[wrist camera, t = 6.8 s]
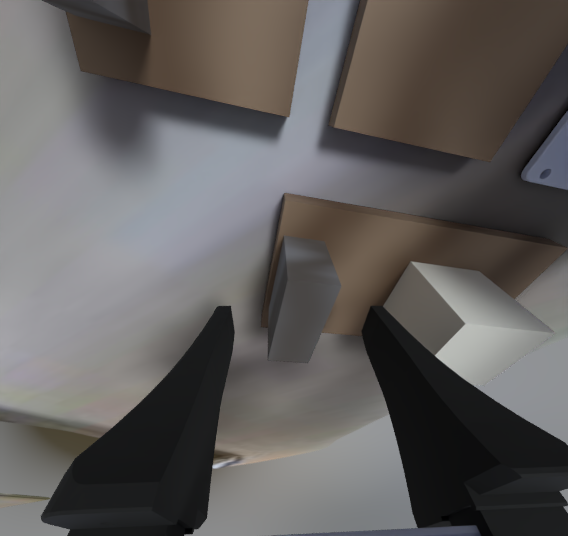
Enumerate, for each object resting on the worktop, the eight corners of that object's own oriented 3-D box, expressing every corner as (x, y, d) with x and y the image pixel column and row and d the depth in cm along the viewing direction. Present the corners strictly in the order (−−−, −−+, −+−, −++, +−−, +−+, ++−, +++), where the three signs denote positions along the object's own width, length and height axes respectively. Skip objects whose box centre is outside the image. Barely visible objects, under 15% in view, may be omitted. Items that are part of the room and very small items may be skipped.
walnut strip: (549, 238, 15) (656, 291, 11) (456, 334, 21) (503, 392, 17) (284, 192, 13) (290, 237, 8) (261, 315, 18) (258, 378, 14)
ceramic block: (478, 271, 15) (555, 333, 11) (436, 321, 18) (484, 385, 14) (410, 261, 14) (465, 323, 10) (377, 315, 17) (409, 381, 13)
